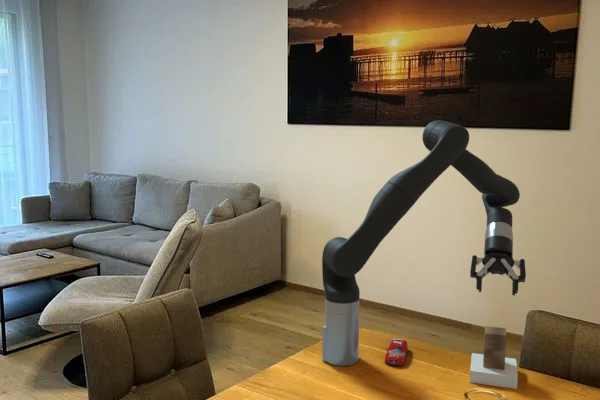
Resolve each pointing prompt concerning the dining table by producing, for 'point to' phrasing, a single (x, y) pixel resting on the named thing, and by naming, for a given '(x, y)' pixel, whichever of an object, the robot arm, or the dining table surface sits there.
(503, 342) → the walnut block
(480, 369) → the riser
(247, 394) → the dining table surface
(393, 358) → the race car
